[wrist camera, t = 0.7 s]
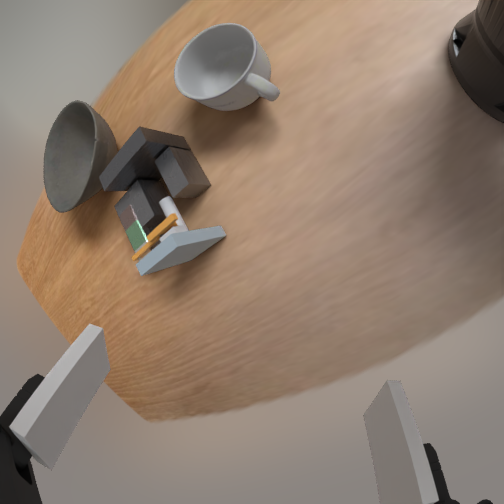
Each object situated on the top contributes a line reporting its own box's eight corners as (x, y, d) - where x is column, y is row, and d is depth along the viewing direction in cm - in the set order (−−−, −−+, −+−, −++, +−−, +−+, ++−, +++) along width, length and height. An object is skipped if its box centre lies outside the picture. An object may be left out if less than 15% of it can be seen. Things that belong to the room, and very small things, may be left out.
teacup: (195, 87, 37) (159, 71, 30) (246, 35, 32) (217, 9, 25) (253, 148, 35) (220, 136, 28) (315, 90, 31) (295, 62, 23)
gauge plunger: (198, 185, 39) (146, 183, 30) (226, 235, 38) (177, 246, 29) (166, 213, 42) (114, 218, 33) (191, 260, 41) (141, 276, 32)
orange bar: (183, 212, 35) (171, 213, 32) (186, 218, 34) (174, 219, 32) (135, 255, 39) (123, 258, 37) (137, 260, 39) (126, 263, 37)
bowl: (153, 181, 43) (103, 180, 34) (93, 222, 51) (50, 228, 42) (132, 89, 42) (88, 77, 33) (78, 142, 51) (39, 139, 42)
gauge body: (183, 137, 39) (139, 126, 31) (227, 212, 38) (184, 216, 30) (131, 191, 45) (88, 192, 37) (164, 260, 44) (121, 273, 36)
